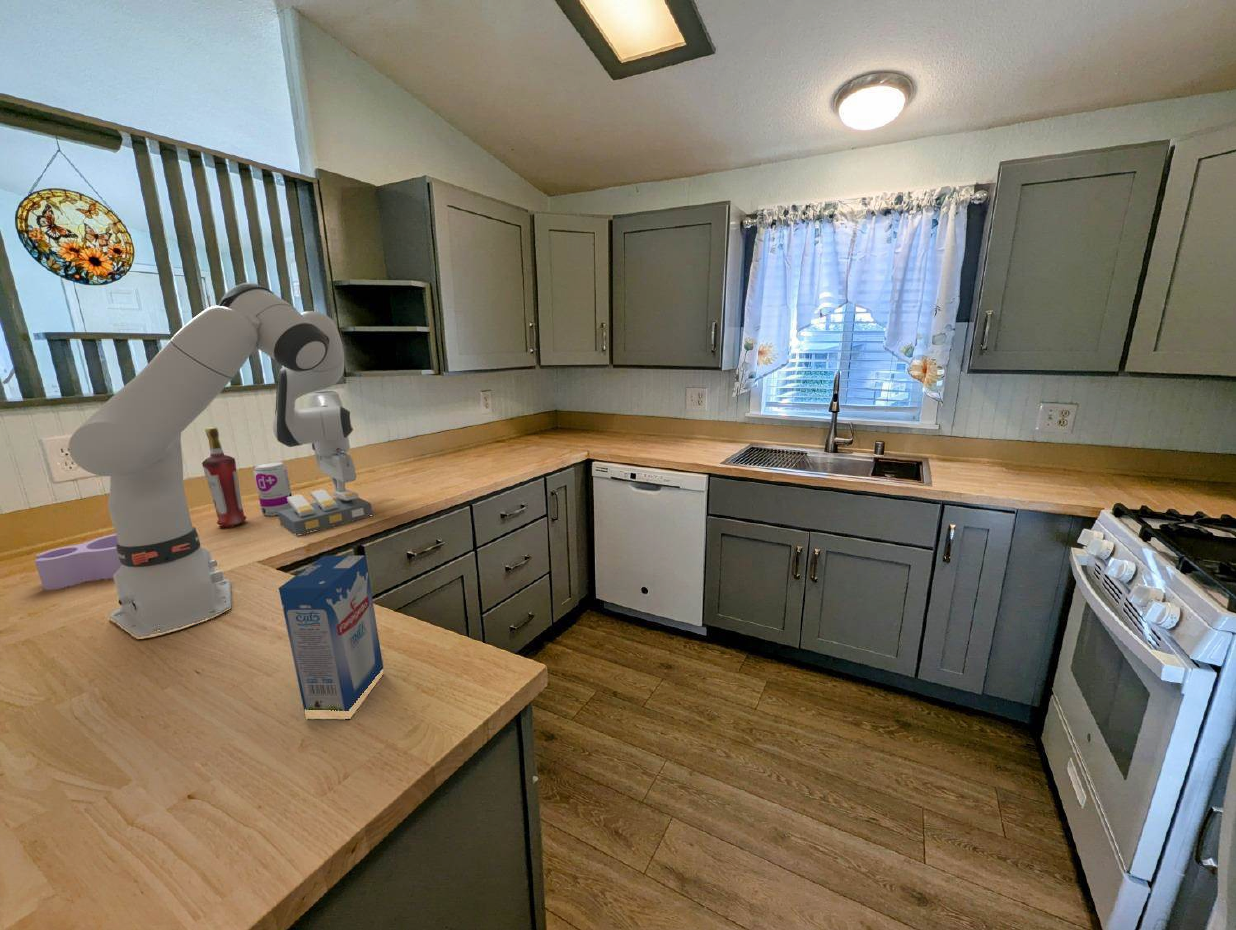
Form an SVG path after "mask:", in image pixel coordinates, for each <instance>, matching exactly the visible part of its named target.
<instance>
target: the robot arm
mask: <svg viewBox="0 0 1236 930" xmlns="http://www.w3.org/2000/svg"><path fill="white" fill-rule="evenodd" d="M256 351H261V352H262V353H264V355H266V356H268V357H270V358H271V359H273V360H275V361H276V362H277V363H278V364H279V365H280V366H282V368H280V369H279V371H278V374H277V379H276V389H275V391H276V392H275V409H274V410H275V412H274V417H273V421H272V430H273V434H274V437H275V439H276V440H277V442H278V443H281V444H282V445H283V446H286V447H288V448H291V447H292V448H294V447H298V446H303V445H308V444H311V449H312V451H314V455H315V459H316V463H317V466H318V469H319V471H320V472H321V473H323V474H324V475H326V476H330V479H331V481H332V483H333V487H334V490H335V491H339V492H341V491H345V489H346V486H345V485H346V483H350V482H351V483H352V482H355V481H356V480H357V474H356V473H357V471H356V468H355V464H354V460H353V458H352V456H351V455H350V454H347V453H348V452H349V451H351V446H350V441H349V436H350V435H351V433H352V432H354V431H353V430H354V428H353V426H352V422H351V421H352V419H351V411H350V410H348V409H346V408H345V407H343V404H342V400H341V397H340V394H339V393H338V392H336V391H332V390H331V391H330V390H326V389H329V388H330V387H332V386H334V385H335V384H337V383H338V382H339V381H340V380H341V379H342V376H343V375H344V372H345V353H344V347H343V342H342V339H341V336H340V333H339V329H338V328H337V325H336V323H335V322H334V320H333V319H332V318H331V317H329V316H328V315H327V314H325V313H322V312H320V311H315V310H306V311H301V312H299V311H298V310H297V308H295V307H294V306H293V305H292V304H291V303H288V301H286V300H284V299H283V298H281V297H280V296H278V295H276V294H275V293H274V292H273V291H272V290H270V289H269V288H267V287H265V286H262V285H260V284H257V283H255V282H243V283H241V284H240V283H239V284H237V285H234V286H233V287H231V288H230V289H229V290H228V291H226V293H224V295H223V296H222V297H221V300H220V301H219V303H218V304H217V305H214V306H213V305H212V306H210V307H207V308H206V309H204V310H202V311H201V312H200V313H199V314H197V315H196V316H195V317H193V318H191V319H190V320H189V321H188V322H187V323H186V324H185V325H183V326H182V327H181V328H180V329H179V330H178V331H177V332H176V333H175V334H174V335H173V336H172V337H171V338H170V339H169V340H168V342H167V343H166V344H165V345H164V346H163V347H162V348H161V349H160V350H159V351H158V353H156V355H155V356H154V357H153V358H152V359H151V360H150V361H149V362H148V364H146V366H145V367H144V368H143V369H141V371H140V372H138V374H137V375H136V376H135V377H134V378H132V379H131V380H130V381H129V382H127V383H126V384H125V385H124V386H123V387H122V388H121V389H119V390H118V391H117V392H116V393H115V394H113V396H111V397H110V398H109V399H108V400H107V401H106V402H105V403H104V404H103V405H101V406H100V407H99V408H98V409H97V410H96V411H95V412H94V413H93V414H92V415H91V416H90V417H89V418H88V419H87V420H86V421H85V422H83V424H81V425H80V426H79V427H78V428H77V429H76V430H75V431H74V432H73V434H72V435H71V437H70V439H69V441H68V452H69V455H70V457H71V459H72V460H73V462H74V463H75V464H76V465H77V466H78V467H79V468H80V469H82V470H84V471H86V472H88V473H89V474H93V475H96V476H99V477H110V478H109V479H110V480H109V481H110V482H109V486H110V487H109V495H108V500H107V509H108V513H109V515H110V519H111V522H112V526H113V529H114V532H115V533H114V534H116V537H117V540H118V543H117V544H116V548H117V551H116V552H117V555H118V557H119V560H120V563H121V564H122V565H121V567H120V569H119V570H118V571H117V572H116V573H115V574H114V575H113V578H112V579H113V581H114V584H115V589H116V593H117V598H118V604H119V605H120V608H118V609H116V610H114V611H112V612H111V613H109V616H108V617H110V618H112V619H113V620H114V621H115V622H116V623H119V624H120V625H121V626H122V627H123V628H125V629H126V630H128V631H129V632H130V633H132V634H133V635H135V636H137V637H141V636H149V635H151V634H156V633H163V632H166V631H169V630H173V629H175V628H181V627H183V626H186V625H189V624H192V623H197V622H200V621H202V620H205V619H206V618H210V617H212V616H215V615H216V614H220V613H222V612H224V611H225V610H227V609H229V608H230V607H231V604H232V582H231V579H229V578H224V575H223V571H222V569H218V570H215V567H218V563H217V559H212V553H211V551H210V550H209V549H206V548H204V547H202V546H201V543H200V535H199V533H198V532H197V529H196V527H194V526H193V522H192V519H191V515H190V510H189V507H188V503H187V498H186V493H185V486H184V485H185V483H184V464H183V453H182V445H181V444H182V442H181V438H182V432H184V430H185V429H186V428H187V427H189V425H190V424H191V423H192V422H193V421H194V420H196V418H197V417H199V416H200V415H201V414H202V413H203V412H204V411H205V410H206V409H207V408H208V407H209V406H210V405H211V404H212V402H214V400H215V399H216V398H217V397H218V395H219V394H220V393H221V392H223V390H224V389H225V387H227V385H228V384H229V383H230V382H231V381H232V380H233V379H234V377H236V375H237V374H238V372H239V371H240V370H241V368H242V367H243V366H244V365H245V363H246V361H247V360H248V358H249V357H250V355H251V354H253V353H255V352H256ZM323 390H326V391H323ZM308 394H309V395H308ZM305 395H308V407H303V408H296V401H297V399H298V398H300V397H303V396H305ZM122 614H123V615H122ZM118 615H120V616H118ZM110 618H109V619H110ZM157 630H160V631H157ZM155 631H156V632H155Z"/></svg>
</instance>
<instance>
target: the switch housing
mask: <svg viewBox="0 0 1236 930" xmlns="http://www.w3.org/2000/svg"><path fill="white" fill-rule="evenodd" d="M332 499H333V500H334V501H335V502H336V503H337V506H338V508H334V509H330V510H326V511H324V510H323V509H322V508H321V507H320V506H319V504H318V503H317V502H316V501H315V502H311V503H309V504H310V505H311V506H312V508H313V509H314V513H313V514H309V515H305V516H301V517H300V516H299V514H298V513H297V512H296V511H295V510H294V508H289V509H285V510H281V511H278V514H279V515H278V519H279V522H280V525H281V526H282V525H283V526H284V527H283V526H282V527H283V528H285V529H286V530H288V531H289V530H290V531H291V532H290V531H289V532H290V533H292V532H293V533H294V534H296V535H298V534H303V535H305V534H304V533H307V532H310V531H314V530H318V531H321V530H320V529H322V530H325V529H324V528H326V529H328V528H327V527H329V528H331V527H330V526H333V525H337V526H340V525H339V524H341V525H343V524H342V523H344V524H347V523H346V522H348V523H350V522H349V521H352V520H356V521H358V520H359V521H360V520H362V519H361V518H363V519H365V517H367V518H369V517H368V516H370V515H373V510H372V503H371V502H369V501H368V500H365V499H362V498H360V497H359V498H356V499H351V500H347V501H346V500H343V499H341V498H338V497H333V498H332ZM352 522H353V521H352ZM333 527H334V526H333ZM314 532H315V531H314ZM293 533H292V534H293ZM294 534H293V535H294ZM307 534H308V533H307ZM296 535H295V536H296Z"/></svg>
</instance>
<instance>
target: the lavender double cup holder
mask: <svg viewBox="0 0 1236 930" xmlns="http://www.w3.org/2000/svg"><path fill="white" fill-rule="evenodd" d="M117 543H118V540H117V537H116V533H114V534H109V535H105V536H101V537H98V538H95V539H92V540H89V541H86V542H83V543H78V544H75V545H74V544H73V545H68V546H67V545H66V546H62V547H57V548H53V549H49V550H47V551H43V552H40V553H37V554H36V555H35V557H36V559H34V564H35V567H36V570H37V572H38V575H39V578H40V582H41V584H42V588H43V590H44V591H53V590H60V589H64V587H66V588H68V587H67V586H70V587H73V586H76V584H77V585H79V584H82V582H83V583H86V582H85V581H87V582H91V581H101V580H100V579H105V580H109V579H108V578H112V579H114V578H113V575H114V574H115V573H116V572H117V571H118V570H119V569H120V567H121V565H122V564H121V563H120V560H119V557H118V555H117V552H116V551H117V548H116V544H117Z"/></svg>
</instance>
